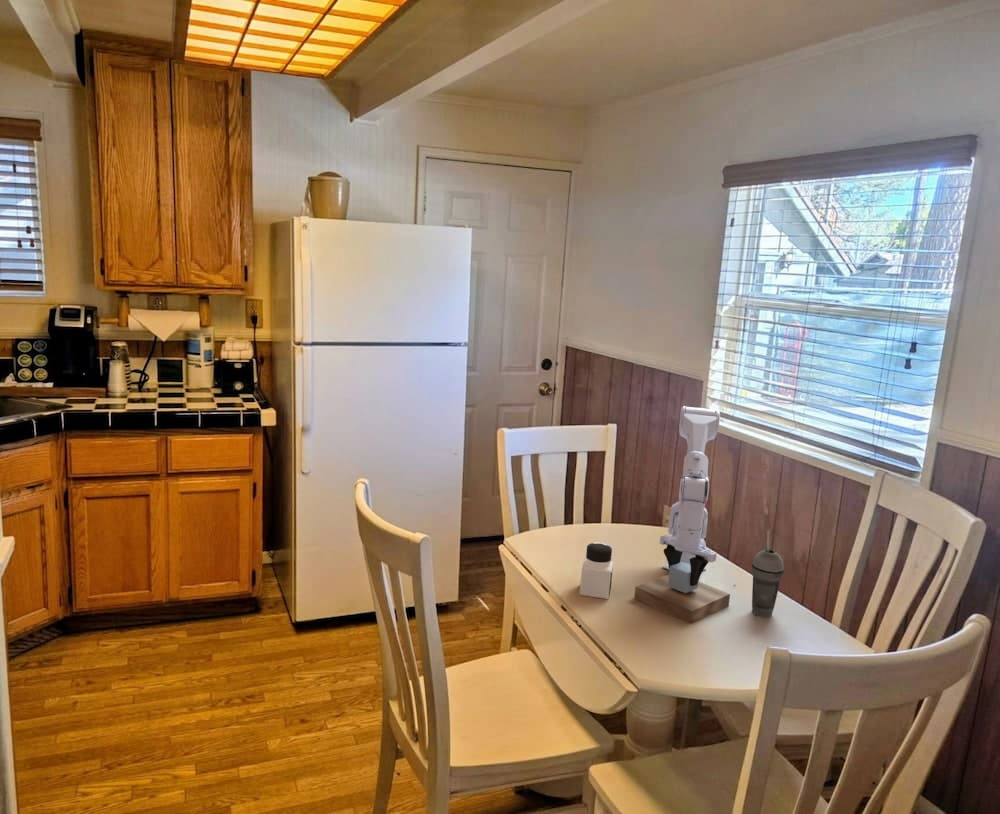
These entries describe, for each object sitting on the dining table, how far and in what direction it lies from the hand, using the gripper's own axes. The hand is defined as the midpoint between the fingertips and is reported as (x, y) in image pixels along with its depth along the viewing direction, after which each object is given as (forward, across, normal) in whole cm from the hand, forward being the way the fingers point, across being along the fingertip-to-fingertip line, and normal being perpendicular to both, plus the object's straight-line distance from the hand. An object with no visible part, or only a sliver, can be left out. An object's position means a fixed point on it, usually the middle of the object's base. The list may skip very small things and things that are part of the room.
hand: (683, 580), depth 182 cm
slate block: (+2, 0, 0) cm, 2 cm away
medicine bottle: (+6, -16, -13) cm, 21 cm away
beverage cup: (+6, +15, +11) cm, 19 cm away
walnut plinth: (+5, 0, 0) cm, 5 cm away
